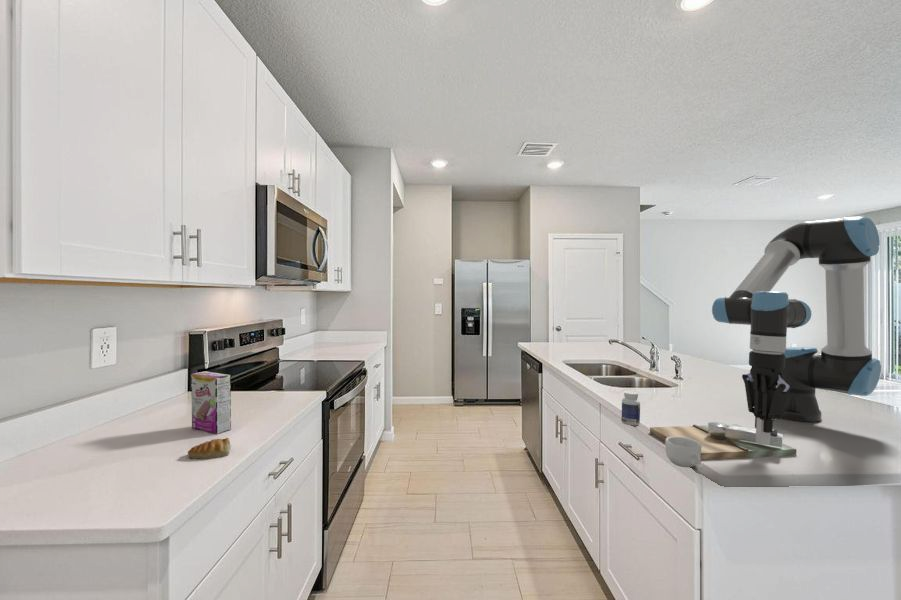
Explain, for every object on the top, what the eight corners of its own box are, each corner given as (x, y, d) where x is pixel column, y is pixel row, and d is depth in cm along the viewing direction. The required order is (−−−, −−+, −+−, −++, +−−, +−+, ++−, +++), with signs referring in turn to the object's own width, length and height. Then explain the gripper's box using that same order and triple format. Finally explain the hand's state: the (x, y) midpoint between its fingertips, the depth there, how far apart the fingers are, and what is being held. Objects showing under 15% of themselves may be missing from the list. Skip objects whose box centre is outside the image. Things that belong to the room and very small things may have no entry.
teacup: (658, 458, 110) (658, 436, 110) (686, 456, 111) (687, 435, 111) (684, 475, 100) (684, 451, 100) (714, 473, 101) (715, 450, 101)
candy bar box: (190, 429, 128) (189, 373, 127) (206, 424, 133) (205, 370, 132) (216, 435, 123) (216, 377, 123) (232, 429, 128) (231, 374, 127)
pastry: (186, 463, 104) (186, 447, 104) (189, 453, 111) (189, 438, 110) (230, 457, 108) (230, 441, 108) (231, 448, 115) (231, 433, 114)
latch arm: (706, 434, 120) (707, 421, 120) (709, 429, 124) (709, 416, 124) (781, 448, 110) (782, 433, 110) (782, 442, 114) (782, 428, 114)
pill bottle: (641, 426, 135) (642, 395, 134) (623, 425, 136) (623, 394, 135) (637, 421, 140) (638, 391, 140) (619, 420, 141) (620, 390, 141)
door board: (736, 429, 133) (736, 422, 132) (796, 455, 113) (796, 446, 113) (649, 432, 129) (650, 424, 129) (696, 459, 109) (696, 450, 109)
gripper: (734, 348, 117) (730, 435, 118) (775, 355, 104) (771, 453, 105) (759, 348, 118) (755, 434, 119) (803, 356, 105) (799, 452, 106)
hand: (762, 443), depth 112 cm, fingers closed
